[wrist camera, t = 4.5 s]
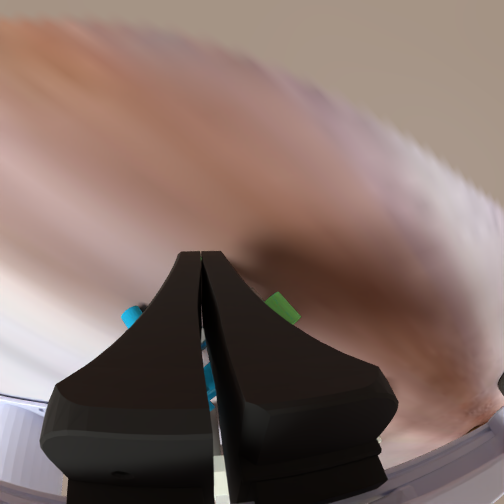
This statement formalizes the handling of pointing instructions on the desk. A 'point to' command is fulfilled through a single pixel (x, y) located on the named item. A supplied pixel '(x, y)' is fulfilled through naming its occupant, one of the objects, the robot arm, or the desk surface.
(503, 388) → the smart speaker
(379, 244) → the desk surface
